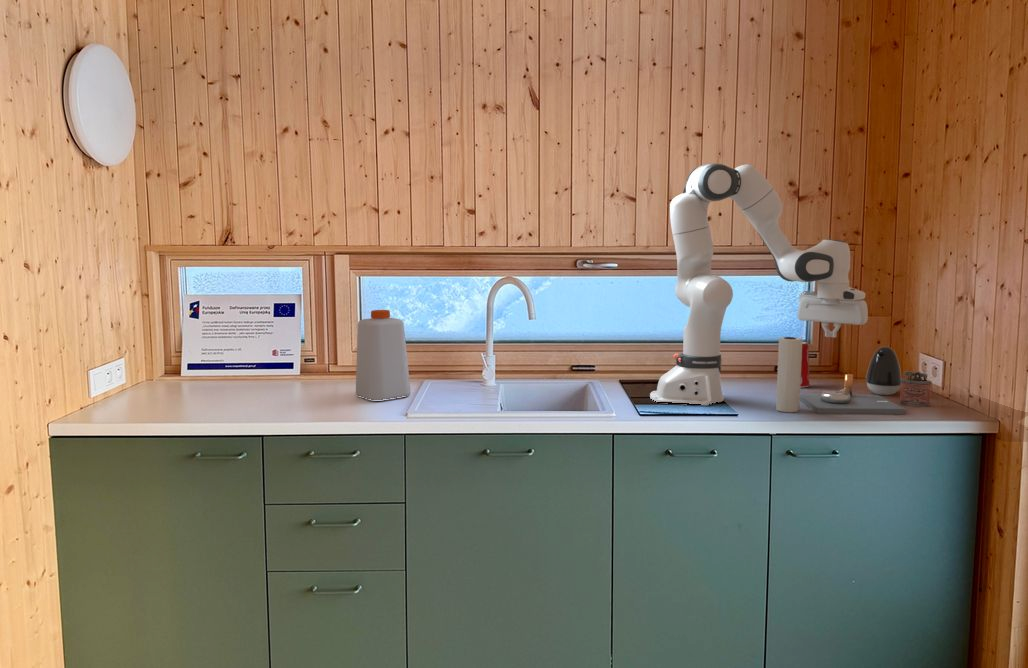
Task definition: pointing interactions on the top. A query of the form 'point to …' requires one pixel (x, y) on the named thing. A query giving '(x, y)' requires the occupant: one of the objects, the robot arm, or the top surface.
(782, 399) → the paper towel roll
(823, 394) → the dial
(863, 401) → the slate board
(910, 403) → the brown textured block
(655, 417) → the top surface
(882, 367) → the black egg-shaped dome
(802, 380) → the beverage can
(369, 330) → the plastic bottle
